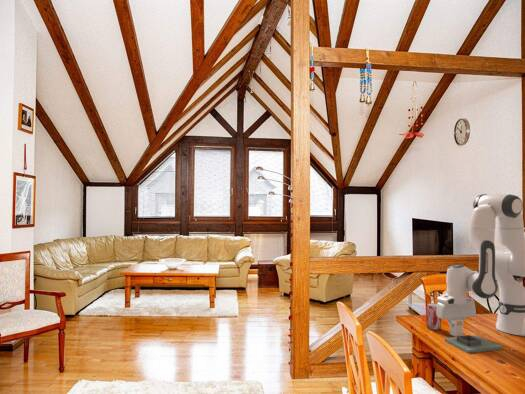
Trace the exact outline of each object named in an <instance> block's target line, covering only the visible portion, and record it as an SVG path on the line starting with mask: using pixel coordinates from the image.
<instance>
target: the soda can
mask: <svg viewBox="0 0 525 394" xmlns="http://www.w3.org/2000/svg"><path fill="white" fill-rule="evenodd" d="M436 307H437V303H433V302H432V303H431V302H429V303H427V305H426V307H425V308H426V309H425V325H426V327H427V328H428V329H430V330H433V331H437V330H440V329H442V319H440V318H438V317H437V315H436Z"/></svg>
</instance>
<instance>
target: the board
mask: <svg viewBox="0 0 525 394" xmlns="http://www.w3.org/2000/svg"><path fill="white" fill-rule="evenodd" d="M444 342H445V343H448V344H450V345H452V346H454V347H455V348H457V349H459V350H461V351H463V352H465V353H467V354H474V353H480V352H481V353H482V352H490V351H499V350H503V346H501V345H499V344H497V343H495V342H493V341H490V340H488V339H486V338H484V337H482V336H479V335H477V334H476V335H470V334H467V335H463V336H457V337H455V336H453V337H445V338H444Z"/></svg>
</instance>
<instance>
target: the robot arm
mask: <svg viewBox="0 0 525 394" xmlns="http://www.w3.org/2000/svg"><path fill="white" fill-rule="evenodd" d="M523 204H524V203H523V201H522V199H521V198H520V197H519V196H518V195H515V194H505V193H489V194H488V193H482V194H479V195H477V196H476V197H475V198H474V200H473V203H472V207H473V209H472V211H471V212H472V213H471V215H470V219H469V224H468V231H467V234H468V235H467V237H468V238H467V239H468V241H469V242H470V244H471V246H473V248H474V249H475V250H476V251H477V253H478V258H479V259H478V271H475V270H472V269H470V268H469V267H467V266H465V265H464V264H461V263H460V264H451V265H450V266H449V265H448V267H447V271H446V277H445V279H446V280H445V281H446V286H447V287H446V291H445V293H443V294H441V295H438V297H437V298H436V300H437V303H436V304H437V307H436V315H437V317H438V318H440V319H441V320H446V321H447V323H448V326H449V328H450V327H454V324H453V323H452V318H460V319H462V320H463V327H464V324H465V321H466V319H467V318H473V317H474V318H475V317H476V315H477V312H476V304H475V299H474V298H473V297H471V296H468V295H467V292H472V293H473V294H475V295H476V296H478V297H479V298H482V299H490V298H493V297H494V296H495V295H496V294H497V292H498V289H499V292H498V293H499V300H498V311H497V317H496V322H495V329H496V330H498V331H500V332H502V333H505V334H506V333H507V334H510V335H516V336H522V337H525V286H523V285H522V284H521V283H520V282H518V281H516V279H515V278H514V276H515V277H523V278H525V227H524V226H525V224H524V218H523V214H522V212H523V208H524V205H523ZM496 218H497V219H496ZM496 220H497V221H496ZM496 224H497V225H496ZM496 226H497V240H498V243H499V244H500V245H501V246H503V247H505V248H506V249H508V250H509V252H504V251H496V247H495V233H496ZM467 296H468V297H467Z"/></svg>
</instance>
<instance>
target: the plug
mask: <svg viewBox="0 0 525 394" xmlns="http://www.w3.org/2000/svg"><path fill="white" fill-rule="evenodd" d="M452 323H453V324H454V327H449V335H451V336H453V337H457V336H464V332H463V331H464V326H463V320H462V319H461V318H452Z"/></svg>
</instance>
